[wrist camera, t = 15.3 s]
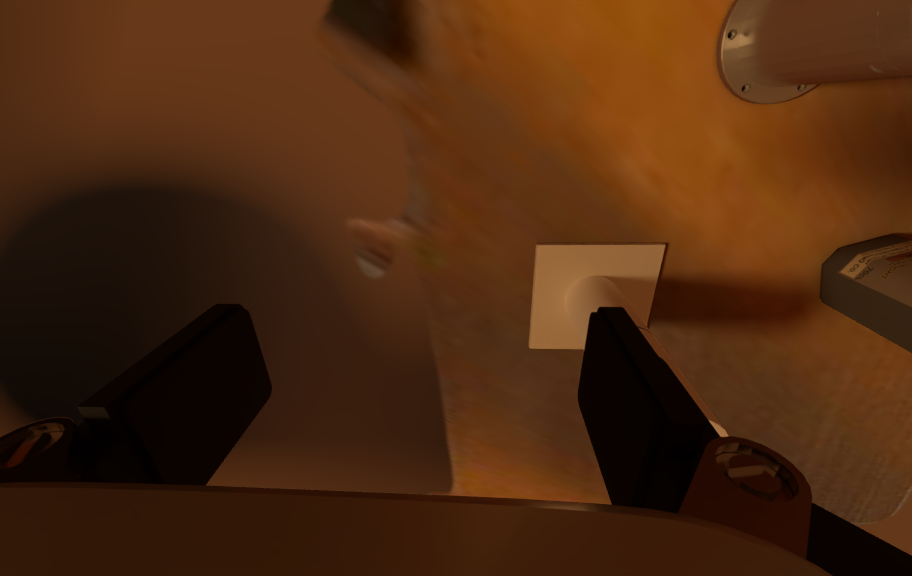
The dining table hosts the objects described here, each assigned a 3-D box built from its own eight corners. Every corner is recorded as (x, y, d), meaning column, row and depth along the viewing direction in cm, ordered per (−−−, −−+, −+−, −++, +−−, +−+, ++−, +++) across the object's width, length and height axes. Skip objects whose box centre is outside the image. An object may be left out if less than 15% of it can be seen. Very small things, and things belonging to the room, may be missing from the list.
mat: (662, 242, 47) (665, 244, 47) (639, 346, 54) (641, 350, 54) (536, 243, 48) (536, 245, 48) (528, 345, 55) (529, 348, 55)
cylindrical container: (605, 266, 48) (713, 402, 26) (627, 307, 51) (742, 465, 28) (555, 291, 50) (615, 438, 28) (578, 330, 53) (649, 494, 30)
